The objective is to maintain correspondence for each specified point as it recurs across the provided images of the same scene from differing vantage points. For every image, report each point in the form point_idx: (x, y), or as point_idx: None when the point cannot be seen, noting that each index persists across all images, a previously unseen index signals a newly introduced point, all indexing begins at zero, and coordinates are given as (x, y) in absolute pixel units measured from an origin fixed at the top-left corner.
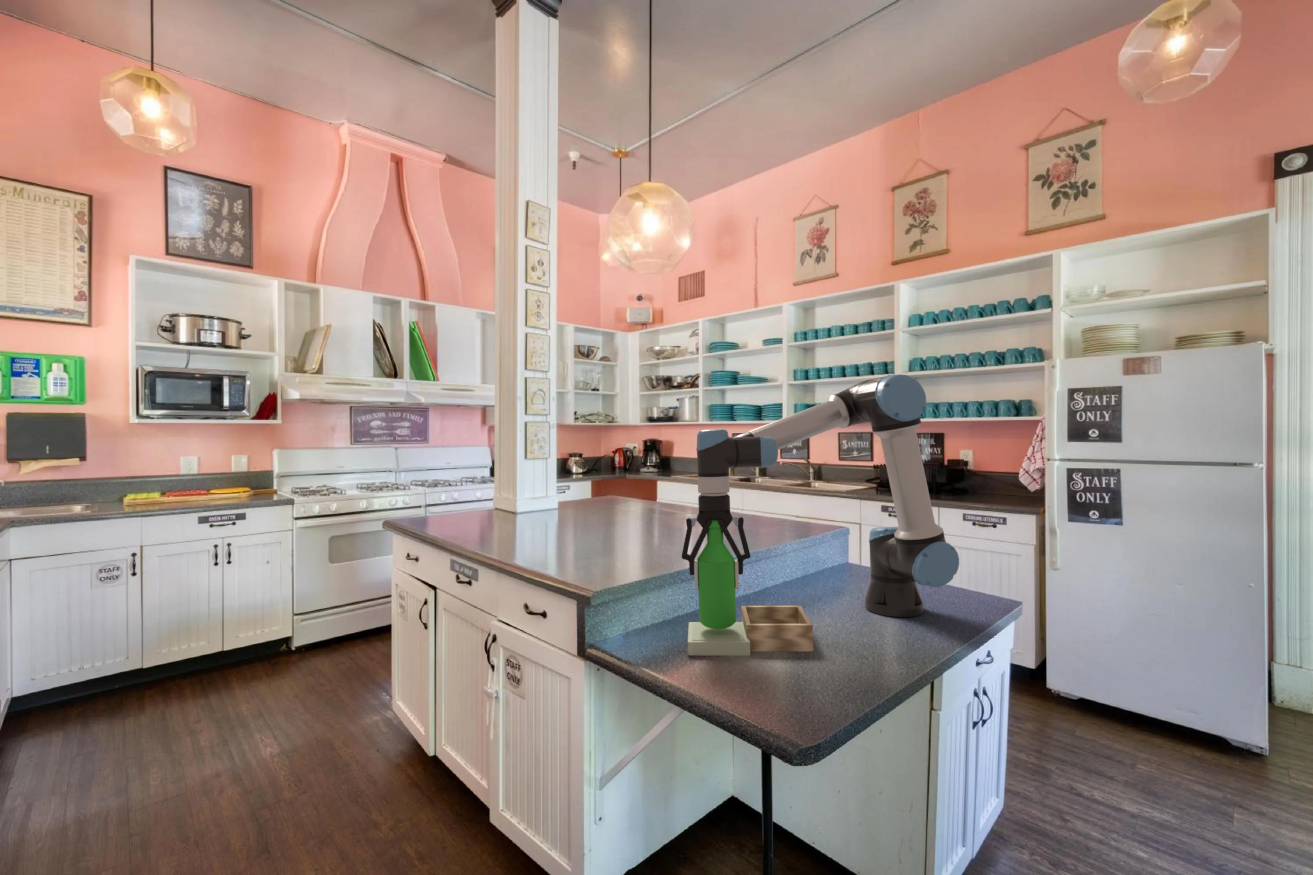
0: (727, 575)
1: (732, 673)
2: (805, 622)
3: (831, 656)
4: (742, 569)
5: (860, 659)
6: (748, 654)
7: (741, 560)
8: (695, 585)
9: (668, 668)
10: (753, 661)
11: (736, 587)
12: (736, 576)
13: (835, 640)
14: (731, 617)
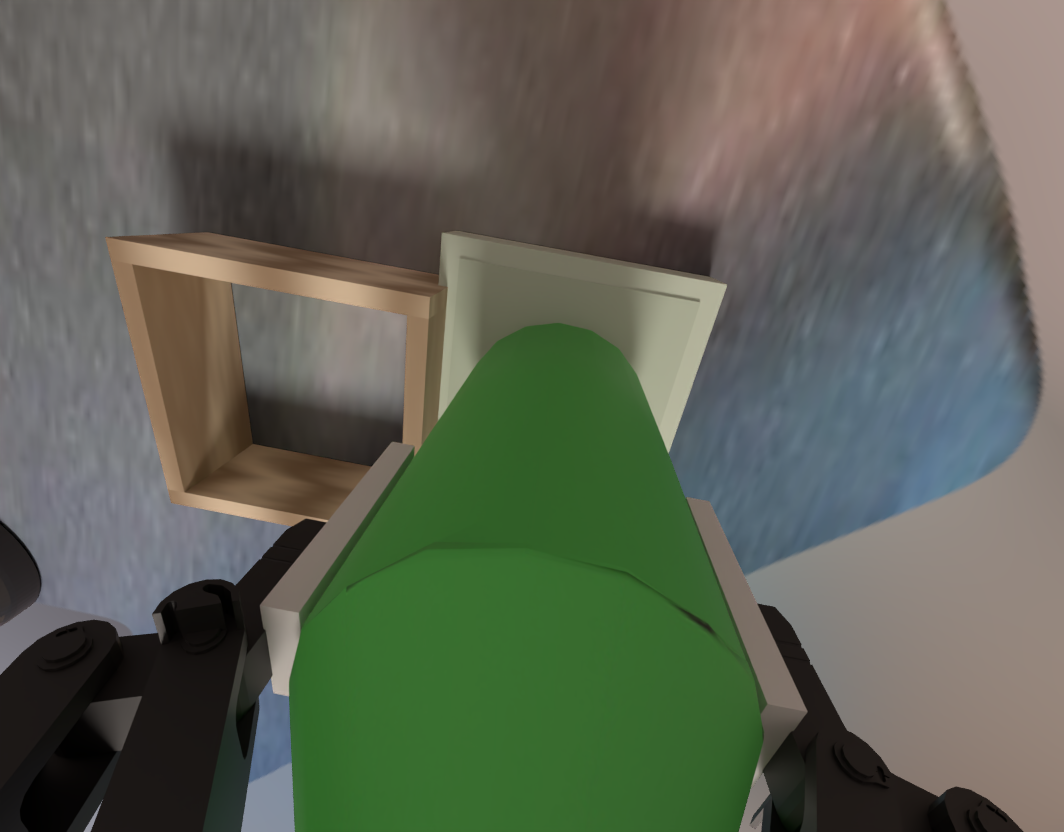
0: (446, 462)
1: (575, 17)
2: (151, 309)
3: (140, 164)
4: (275, 547)
5: (27, 110)
6: (463, 232)
7: (196, 593)
8: (712, 520)
9: (847, 133)
10: (455, 159)
11: (404, 452)
12: (365, 501)
13: (126, 329)
14: (492, 349)
